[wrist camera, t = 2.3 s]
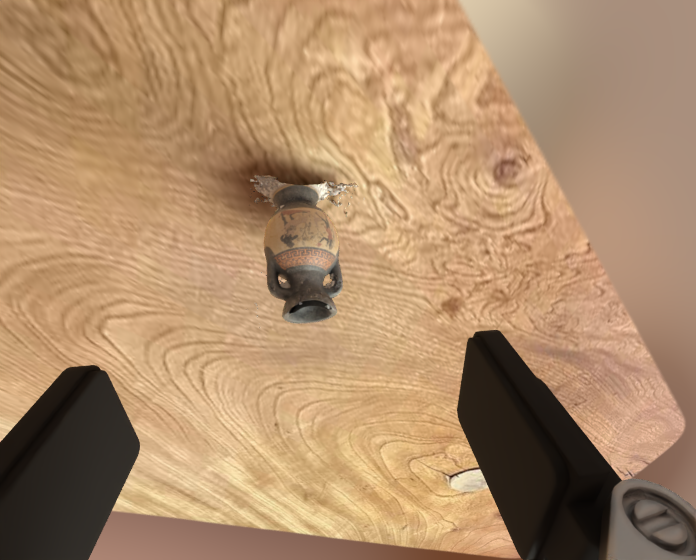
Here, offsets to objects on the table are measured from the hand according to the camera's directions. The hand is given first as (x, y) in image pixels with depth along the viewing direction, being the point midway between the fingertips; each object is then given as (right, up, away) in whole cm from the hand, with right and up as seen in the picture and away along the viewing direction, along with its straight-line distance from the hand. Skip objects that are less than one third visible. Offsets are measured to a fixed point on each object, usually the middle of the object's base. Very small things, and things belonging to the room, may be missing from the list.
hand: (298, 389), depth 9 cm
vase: (-1, +6, +10) cm, 11 cm away
